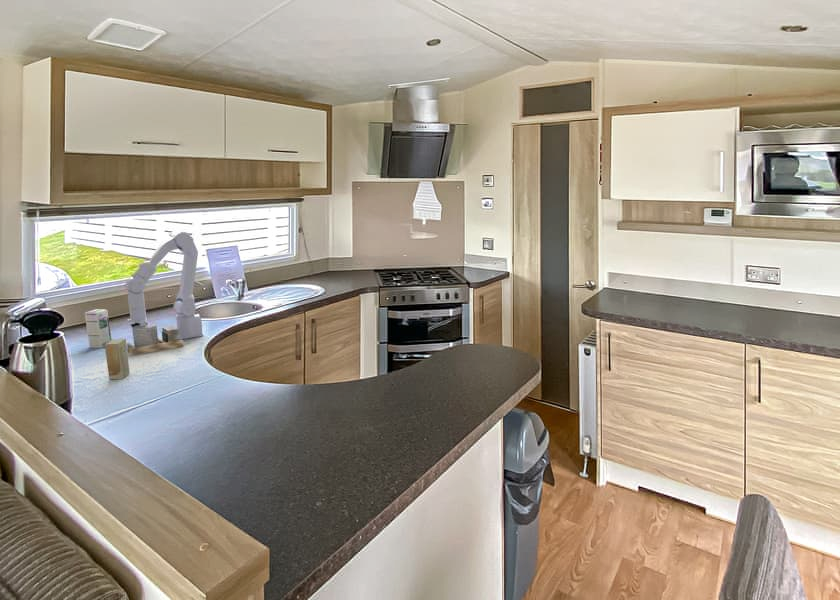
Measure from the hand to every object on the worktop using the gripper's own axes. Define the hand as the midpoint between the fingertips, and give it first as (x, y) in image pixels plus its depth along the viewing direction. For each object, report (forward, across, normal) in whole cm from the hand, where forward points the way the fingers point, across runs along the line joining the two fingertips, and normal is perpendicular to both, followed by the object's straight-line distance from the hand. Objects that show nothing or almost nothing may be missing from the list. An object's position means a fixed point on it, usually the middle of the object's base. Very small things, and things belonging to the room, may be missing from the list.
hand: (140, 340), depth 225 cm
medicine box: (+2, +7, 0) cm, 7 cm away
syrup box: (+2, -8, -13) cm, 16 cm away
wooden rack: (+1, +9, +2) cm, 10 cm away
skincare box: (+2, +40, -16) cm, 43 cm away
